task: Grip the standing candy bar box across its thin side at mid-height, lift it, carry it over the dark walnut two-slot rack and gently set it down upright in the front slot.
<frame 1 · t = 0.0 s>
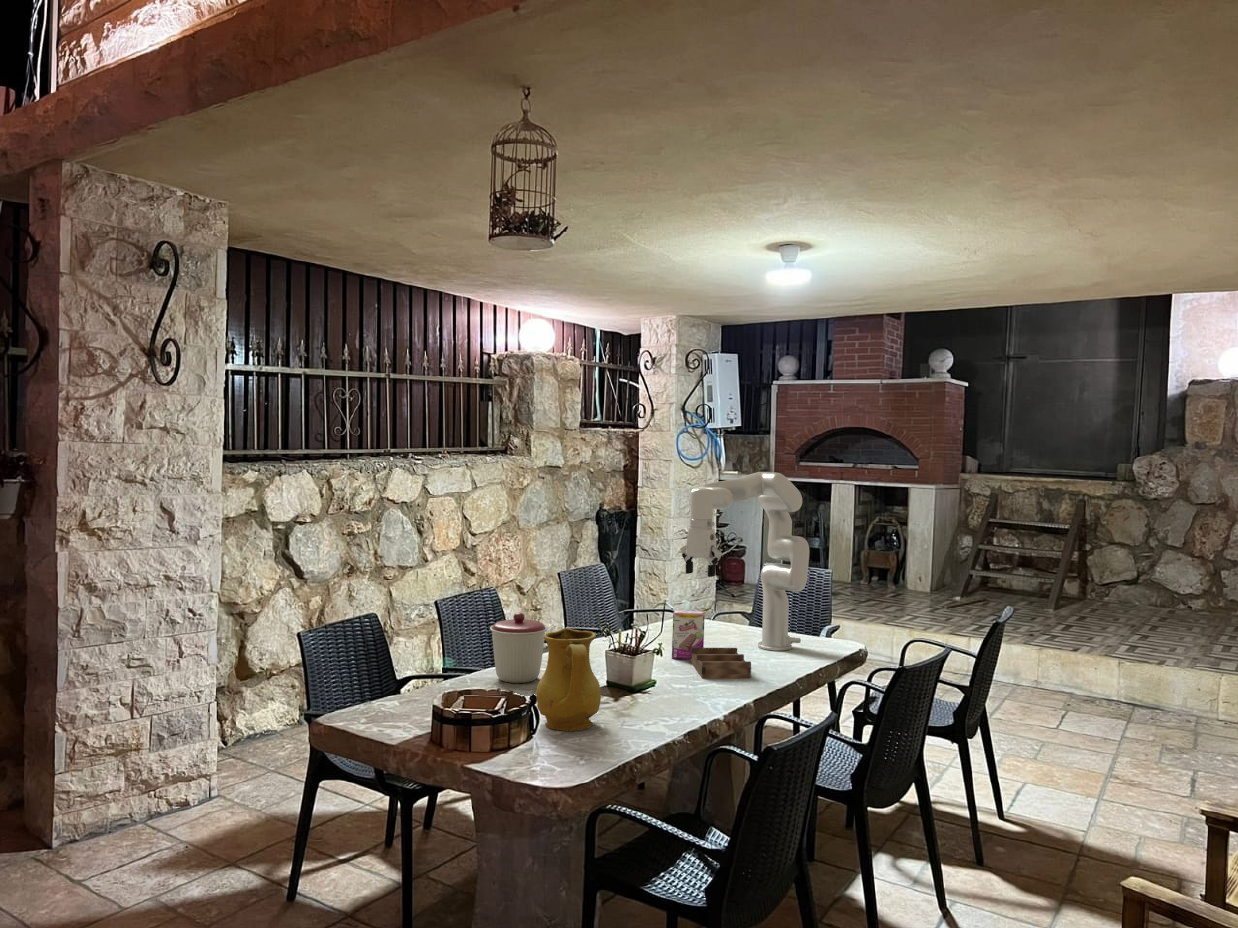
hand: (700, 574, 300), 31 cm above the table, tool pointing down, fingers open, 9 cm apart
rack: (719, 670, 296), on the table
pitcher: (566, 726, 234), on the table
canister: (517, 679, 279), on the table
candy bar box: (687, 658, 313), on the table
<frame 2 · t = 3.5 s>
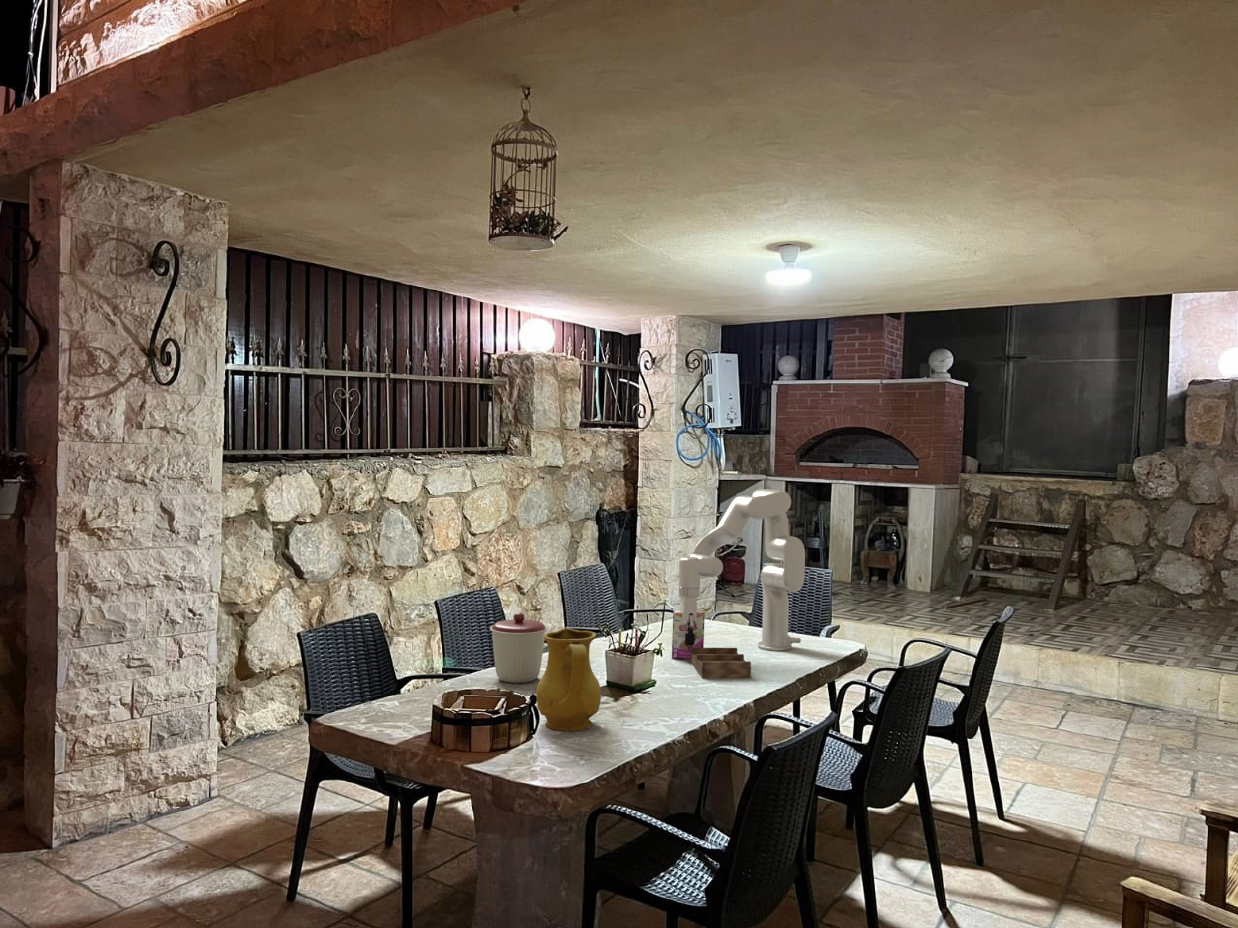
hand: (688, 642, 312), 6 cm above the table, tool pointing down, fingers closed on candy bar box, 5 cm apart
candy bar box: (687, 658, 313), on the table, touching gripper
everything else where it was.
when the fingers open (8 cm above the table, at t = 11.7 s): candy bar box drops 1 cm, resting on rack.
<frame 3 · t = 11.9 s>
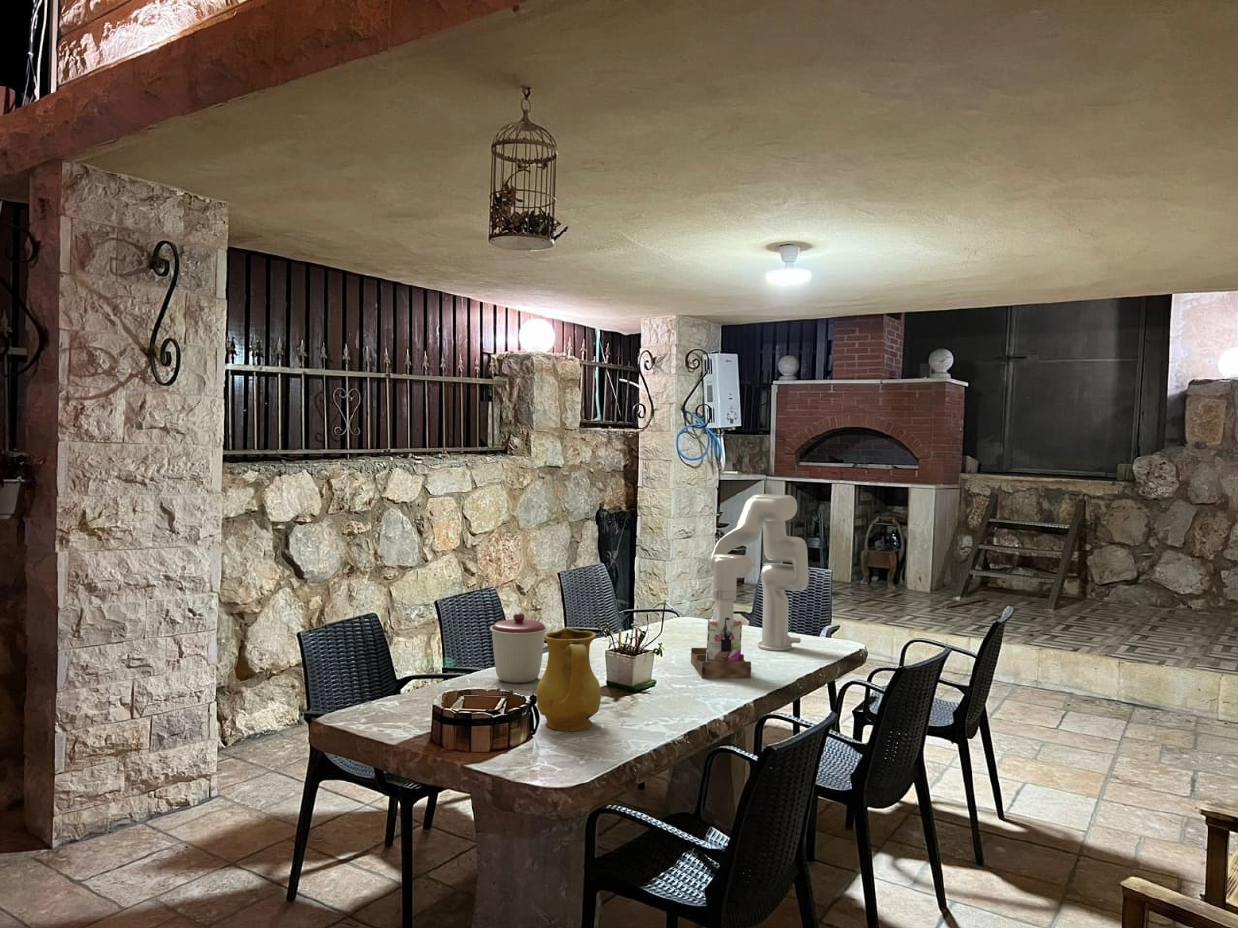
hand: (723, 648, 291), 8 cm above the table, tool pointing down, fingers open, 7 cm apart
candy bar box: (723, 670, 291), point 1 cm above the table, touching rack
everything else where it was.
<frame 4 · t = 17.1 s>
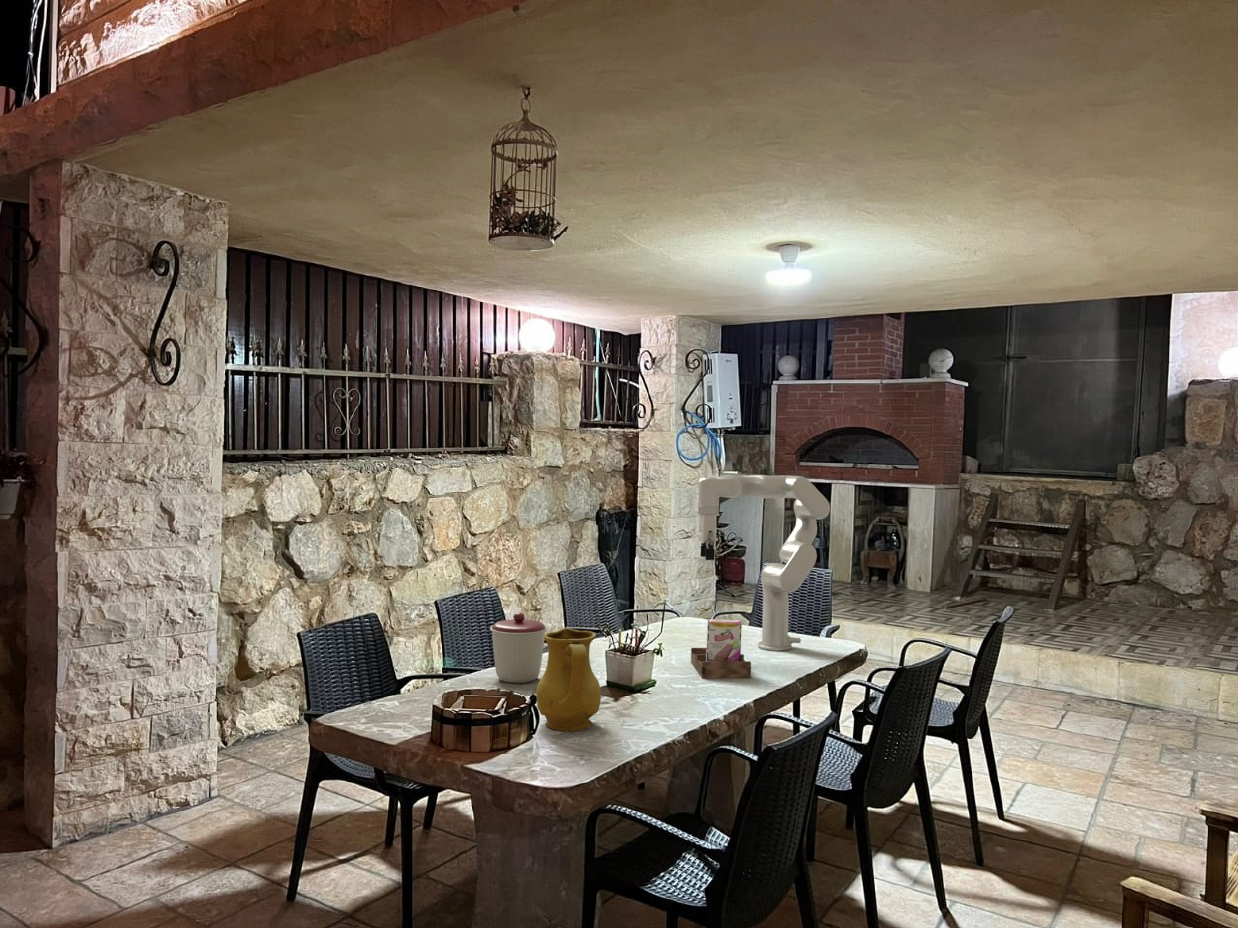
hand: (707, 558, 322), 34 cm above the table, tool pointing down, fingers open, 9 cm apart
nothing on the table moved.
at the end: candy bar box 0.1 cm from the target spot on the rack, point 1.0 cm above the rack's base; candy bar box tilted 0°; the gripper is holding nothing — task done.
